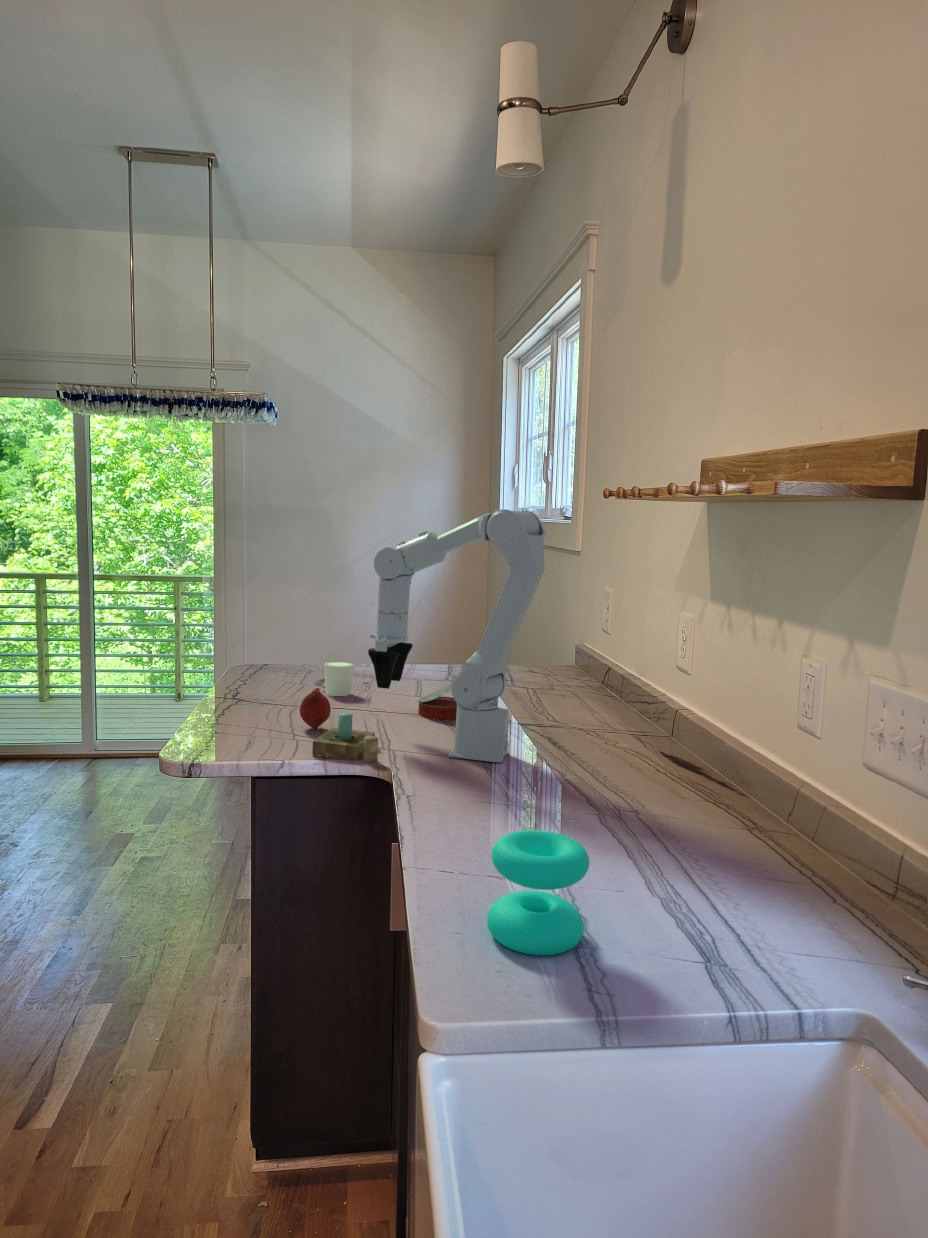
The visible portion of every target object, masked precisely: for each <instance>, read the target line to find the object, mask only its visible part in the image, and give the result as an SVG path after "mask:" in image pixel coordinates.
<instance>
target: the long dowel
mask: <svg viewBox="0 0 928 1238" xmlns="http://www.w3.org/2000/svg"><path fill="white" fill-rule="evenodd" d="M337 722H338V723H337V728H338V739H343V740H349V739H351V736H352V730H353V714H352V713H349V712H340V713H339V714H338V721H337Z"/></svg>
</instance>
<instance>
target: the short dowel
mask: <svg viewBox="0 0 928 1238" xmlns="http://www.w3.org/2000/svg"><path fill="white" fill-rule="evenodd" d="M378 749H379V737H378V736H376V735H375V736H366V737H364V751H363V756H362V762H364V763H367V764H375V763H377V762H378V752H379V750H378Z"/></svg>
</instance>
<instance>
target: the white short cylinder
mask: <svg viewBox="0 0 928 1238" xmlns="http://www.w3.org/2000/svg"><path fill="white" fill-rule="evenodd" d="M323 666H324V667H323V670H324V672H323V673H324V687H325V688H324V689H325V690H324V691H325V695H326V694H327V695H326V696H328V695H329V697H334V696H345V697H349V696H348V695H350V696H351V693H352V687H353V686H352V685H353V678H354V672H355V664H354V663H351V662H348V661H347V662H346V661H327V662H324V663H323Z"/></svg>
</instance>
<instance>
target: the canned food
mask: <svg viewBox="0 0 928 1238" xmlns="http://www.w3.org/2000/svg"><path fill="white" fill-rule="evenodd" d="M450 690H451V684H450V685H447V686H446V687H443V688H440V689H437V690H436V691H434V692H431V693H429V694H428V695H425V696H423V697H422V698H419V700H418V716H420V717H421V716H422V717H421V718H424V717H425V718H424V719H427V718H429V719H428V720H433V719H436V720H435V721H444V720H450V721H456V715H457V702H456V701H455V699H454V698H453V697H448V696H443V695H445V694H446V693H448V692H449V691H450Z"/></svg>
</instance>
